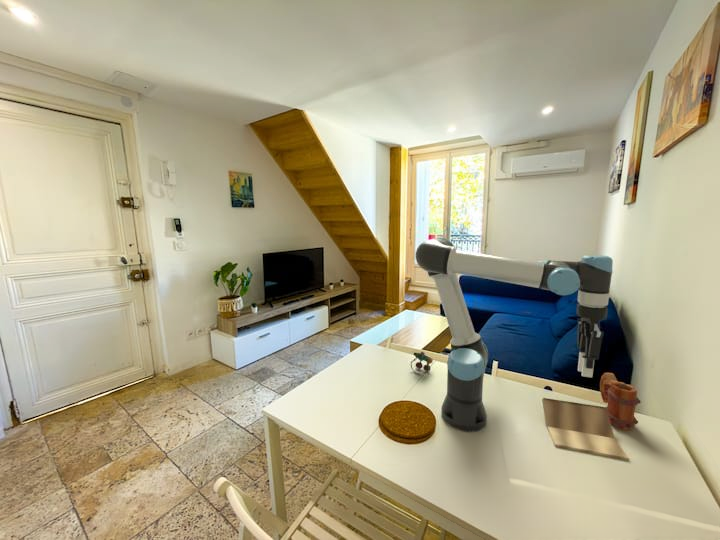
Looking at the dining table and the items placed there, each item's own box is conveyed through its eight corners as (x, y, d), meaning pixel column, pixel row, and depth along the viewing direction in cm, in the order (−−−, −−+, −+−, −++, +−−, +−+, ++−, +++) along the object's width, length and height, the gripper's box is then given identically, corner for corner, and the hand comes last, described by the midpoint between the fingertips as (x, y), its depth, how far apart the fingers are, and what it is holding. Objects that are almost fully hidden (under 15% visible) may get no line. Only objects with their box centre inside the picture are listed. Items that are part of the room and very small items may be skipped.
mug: (643, 436, 92) (649, 393, 89) (613, 433, 94) (618, 390, 91) (613, 408, 106) (618, 369, 104) (587, 405, 108) (592, 368, 105)
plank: (546, 427, 96) (547, 426, 95) (542, 399, 102) (543, 397, 101) (612, 439, 91) (614, 438, 89) (604, 408, 96) (606, 407, 95)
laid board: (554, 448, 88) (554, 443, 88) (546, 430, 96) (547, 425, 95) (628, 463, 82) (628, 458, 82) (613, 442, 90) (614, 437, 90)
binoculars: (430, 378, 133) (436, 357, 136) (422, 375, 126) (428, 352, 129) (412, 372, 139) (418, 351, 142) (404, 368, 132) (410, 347, 135)
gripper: (619, 312, 83) (610, 388, 86) (595, 299, 97) (588, 364, 101) (588, 310, 85) (580, 384, 89) (569, 297, 100) (563, 361, 103)
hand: (584, 373), depth 95 cm, fingers open, 3 cm apart
